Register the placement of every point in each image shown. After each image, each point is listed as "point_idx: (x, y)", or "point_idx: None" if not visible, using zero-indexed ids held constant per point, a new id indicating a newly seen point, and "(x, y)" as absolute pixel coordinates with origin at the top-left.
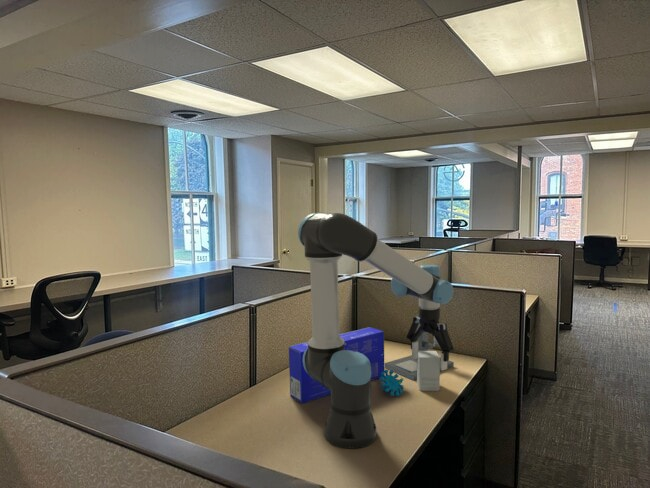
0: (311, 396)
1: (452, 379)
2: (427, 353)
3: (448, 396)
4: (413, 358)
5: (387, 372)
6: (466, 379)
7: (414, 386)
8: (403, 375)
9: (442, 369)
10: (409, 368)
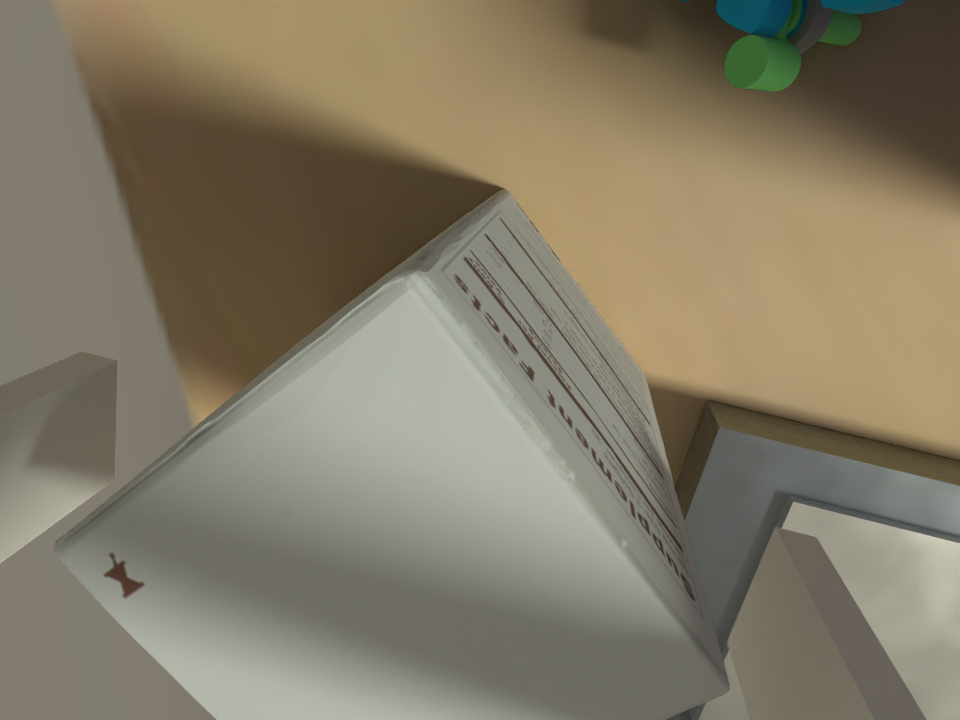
0: None
1: None
2: (395, 628)
3: (203, 268)
4: (780, 541)
5: None
6: None
7: (617, 255)
8: (883, 445)
9: (67, 363)
10: (865, 573)
